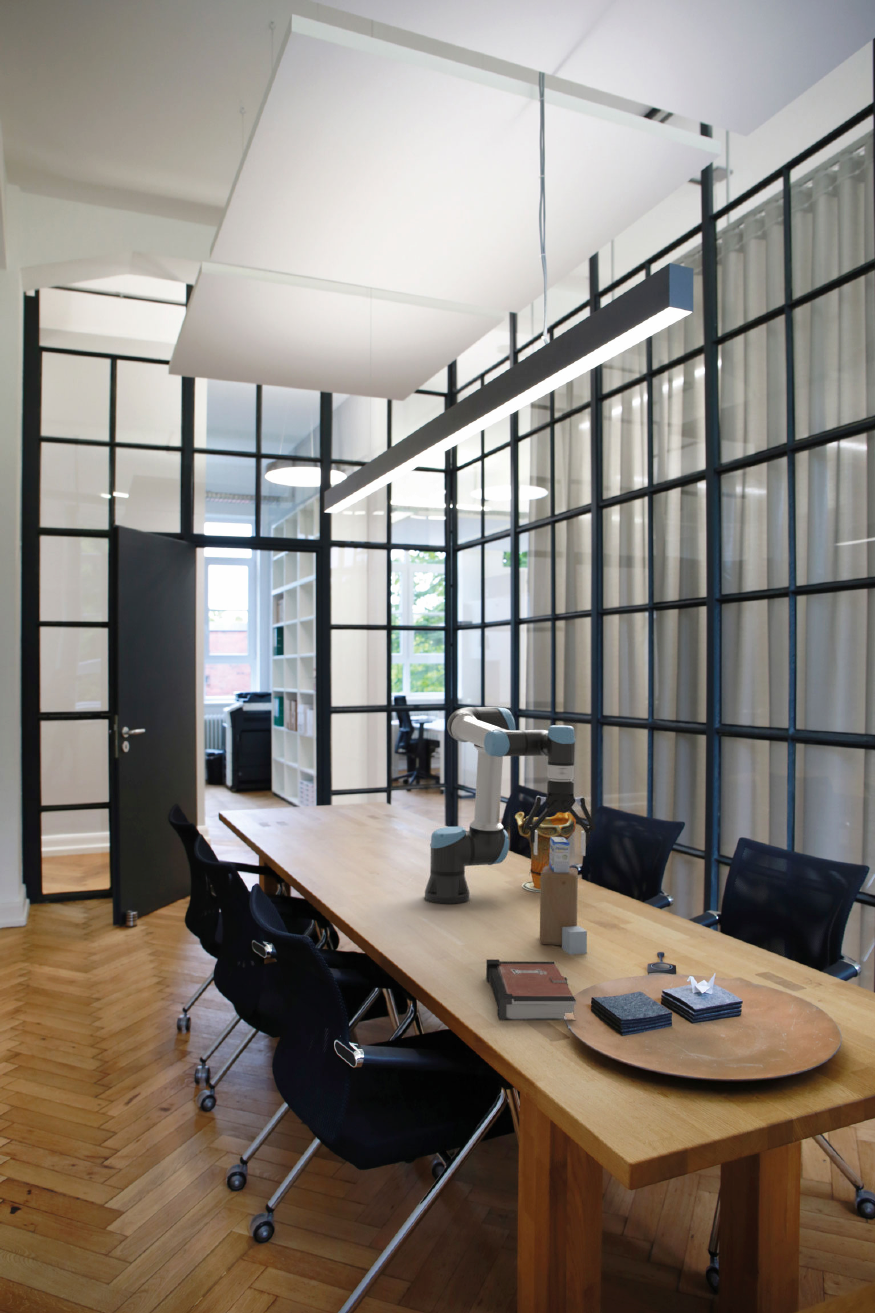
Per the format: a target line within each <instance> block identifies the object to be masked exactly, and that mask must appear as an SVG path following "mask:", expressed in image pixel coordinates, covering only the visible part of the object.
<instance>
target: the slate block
mask: <svg viewBox="0 0 875 1313" xmlns="http://www.w3.org/2000/svg"><path fill="white" fill-rule="evenodd" d="M587 941H588V931H587V930H586V929H584V928H583V927H581V926H579V925H577V926H572V927H562V945H561V949H562V950H563V951H564V952H565V953H566V954H568V955H582V954H583V955H585V954H587V952H588V951H587V950H588V949H587V947H588V946H587V945H588V943H587Z"/></svg>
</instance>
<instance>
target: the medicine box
mask: <svg viewBox="0 0 875 1313" xmlns="http://www.w3.org/2000/svg"><path fill="white" fill-rule="evenodd" d="M570 848H571V844H570V841H568V839H567V840H566V839H565V838H563V837H550V858H549V866H550V868H551V869H552V870H553V871H554V872H555V873H569V868H570V857H571V855H570V854H571V853H570V852H571V849H570Z"/></svg>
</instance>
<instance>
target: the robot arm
mask: <svg viewBox="0 0 875 1313" xmlns="http://www.w3.org/2000/svg"><path fill="white" fill-rule="evenodd" d="M446 724H447V726H446V727H447V728H446V729H447V731H448V734H449V735H450V737H451V738H453V739H454V740H456V741H458V742H460V743H471V744H473V747H474V748H475V749H476V750H477V763H476V765H477V766H476V783H475V784H476V785H475V802H474V817H473V820H472V821H471V822H470V823H469V827H468V828H469V829H468V830H466V828H465V827H463V826H446V827H442V828H441V827H440V828H438V829H435V830H434V831H433V832H432V833H431V836H430V845H429V846H430V865H429V866H430V867H429V869H430V870H429V871H430V874H429V877H428V881H427V884H426V886H425V890H424V899H425V901H428V902H432V903H435V904H443V905H445V904H448V905H449V904H451V905H452V904H462V903H465V902H467V901H469V900H470V890H469V886H468V881H467V879H466V871H465V870H466V867H469V866H471V867H473V866H485V865H486V866H493V865H497V864H501V863H503V862H504V860H506V858H507V856H508V853H509V849H510V840H509V834H508V832H507V831H506V829H504V825H503V824H502V823H501V822H500V816H501V815H500V813H501V812H500V811H501V797H502V779H503V778H502V777H503V760H504V759H503V758H504V757H534V756H535V757H539V756H540V757H547V776H546V777H547V778H548V780H547V784H546V788H547V789H546V795H545V796H540V795H537V796H536V797H535V800H534V801H535V802H534V804H533V807H532V809H531V811H530V813H529V814H528V816H527V817H528V818H527V820H526V822H525V824H524V827H525V829H528V830H530V841H531V842H533V843H534V855H537V845H538V832H537V830H536V829H537V828H538V826H539V825H540V824H541V823H542V822H543V821H544V820H545V818H546V817H548V816H549V815H551V813H555V814H557V813H559V812H562V813H566V812H567V813H571V814H572V816H573V817H574V818H575V819H576V823H578V824H579V825H580V827H581V828H582V829H583V830H581V831H580V832H581V834H580V836H581V837H580V844H581V845H580V855H581V856H582V857H586V844H589V843H590V832H592V831H596V830H597V828H596V827H597V826H596V825H595V823H594V820H593V819H592V817H591V814H590V813H589V810H588V808H587V806H586V799H585V797H583V796H579V797H575V795H574V794H575V792H574V791H575V790H574V789H575V788H574V787H575V782H574V781H573V780H574V779H575V752H576V751H575V749H576V748H575V745H576V738H575V728H574V727H573V726H571V725H558V724H556V725H549V726H548V730H546V729H544V728H542V729H540V728H539V729H532V730H529V729H528V730H527V729H526V730H521V729H520V730H516V722H515V718H514V716H513V714H512V712H511V711H510V710H509V709H507V708H505V707H496V706H486V707H485V706H483V707H482V706H481V707H479V706H475V707H471V706H468V707H467V706H465V707H462V708H459V709H456V710H455V711H454V712H453V713H452V714H451V715H450V716H449V718H448V720H447V723H446ZM544 803H546V804H547V806H546V808H545V809H544V810H543V812H542V813H541V814H540V815H539V816H538V819H537V820H536V821H535V822H534V823H533V824H532V825H531V823H532V821H533V819H534V818H535V817H536V815H537V813H538V811H539V810H540V807H541V805H543V804H544ZM576 803H577V805H578V806H580V808H581V811H582V812H583V815H584V817H585V819H586V821H587V823H588V825H587V824H585V822H584V820H582V818H581V817H580V816H579V815H578V813H577V812H576V811H575V810H574V809H573V806H574V805H575V804H576Z"/></svg>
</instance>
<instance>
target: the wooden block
mask: <svg viewBox="0 0 875 1313" xmlns="http://www.w3.org/2000/svg"><path fill="white" fill-rule="evenodd" d="M578 879H579V872H578V869H577V867H576V868H575V867H569V873H555V872H554V871H553V870H552V869H551V868H550V866H546V867H544V868H543V871H542V873H541V884H540V892H539V893H540V894H539V900H540V901H539V903H540V904H539V906H540V907H539V942H540V943H541V944H542V945H551V946H552V945H553V946H562V927H572V926H578V896H579V894H578V891H579V890H578V888H579V887H578V885H579V884H578V882H579V880H578Z"/></svg>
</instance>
